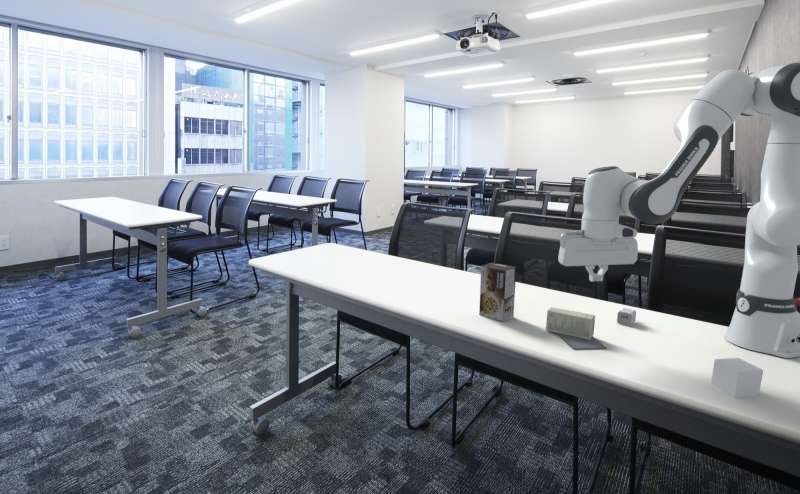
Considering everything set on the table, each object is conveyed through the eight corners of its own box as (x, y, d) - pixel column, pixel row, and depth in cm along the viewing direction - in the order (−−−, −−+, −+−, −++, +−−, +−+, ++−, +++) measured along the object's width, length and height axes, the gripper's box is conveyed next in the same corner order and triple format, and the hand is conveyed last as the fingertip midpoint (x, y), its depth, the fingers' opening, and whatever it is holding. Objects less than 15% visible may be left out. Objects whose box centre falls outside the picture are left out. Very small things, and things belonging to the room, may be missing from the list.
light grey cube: (758, 396, 97) (763, 370, 95) (734, 398, 96) (738, 372, 94) (734, 382, 102) (738, 357, 101) (710, 384, 102) (714, 359, 100)
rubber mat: (584, 331, 131) (584, 330, 131) (606, 348, 119) (606, 347, 119) (554, 331, 130) (554, 330, 130) (573, 349, 118) (573, 348, 118)
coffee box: (514, 316, 142) (517, 266, 139) (503, 322, 137) (506, 270, 134) (489, 309, 148) (491, 261, 145) (478, 314, 144) (480, 265, 140)
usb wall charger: (616, 323, 138) (618, 310, 137) (623, 317, 143) (624, 305, 142) (630, 326, 135) (632, 314, 134) (637, 320, 140) (638, 308, 139)
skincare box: (596, 315, 126) (551, 305, 132) (592, 319, 122) (547, 309, 129) (593, 336, 127) (549, 326, 134) (589, 341, 123) (545, 330, 130)
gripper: (566, 232, 115) (563, 285, 117) (643, 230, 116) (638, 282, 119) (555, 228, 121) (553, 279, 124) (629, 226, 123) (625, 276, 125)
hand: (595, 280), depth 121 cm, fingers closed
